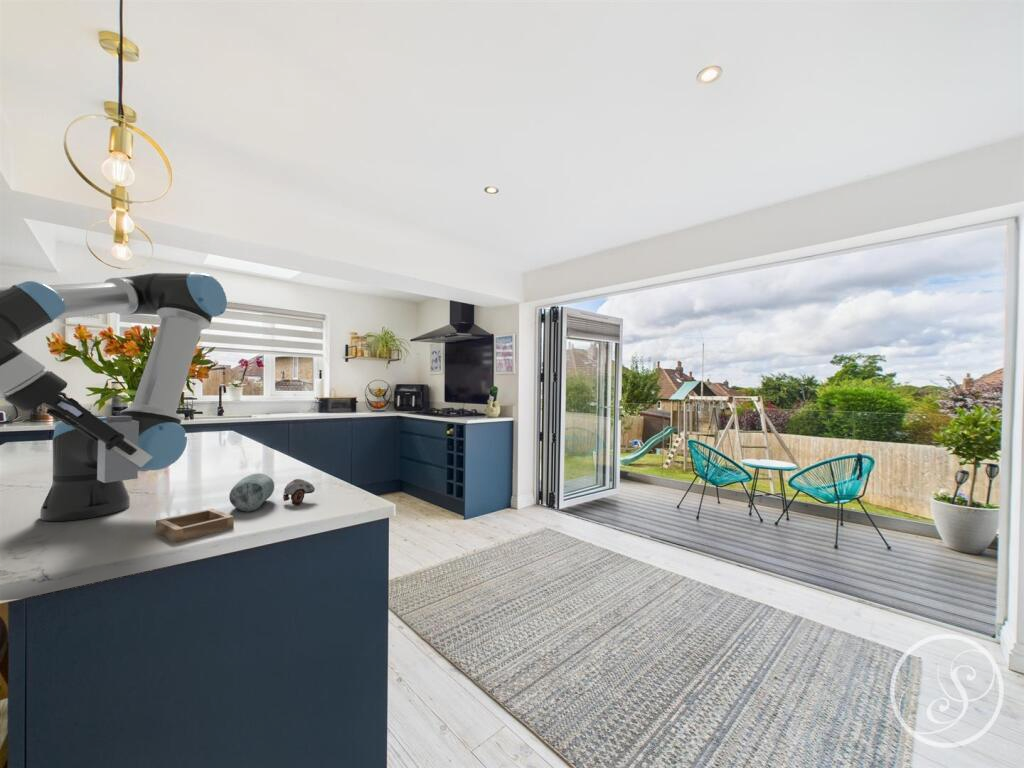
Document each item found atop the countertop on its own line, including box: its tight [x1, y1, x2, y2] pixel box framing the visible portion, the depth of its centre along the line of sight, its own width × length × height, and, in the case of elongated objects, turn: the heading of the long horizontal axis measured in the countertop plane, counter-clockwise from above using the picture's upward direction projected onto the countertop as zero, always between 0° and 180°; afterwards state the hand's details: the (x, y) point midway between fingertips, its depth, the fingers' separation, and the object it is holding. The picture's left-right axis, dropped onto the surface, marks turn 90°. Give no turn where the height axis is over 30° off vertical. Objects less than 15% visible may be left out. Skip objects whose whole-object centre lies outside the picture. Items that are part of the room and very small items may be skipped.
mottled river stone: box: [228, 472, 275, 512], centre depth 106 cm, size 14×10×10 cm
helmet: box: [282, 478, 316, 506], centre depth 109 cm, size 6×8×7 cm
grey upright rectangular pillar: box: [97, 415, 139, 483], centre depth 84 cm, size 5×5×13 cm
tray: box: [155, 508, 235, 543], centre depth 88 cm, size 10×10×2 cm
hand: (141, 460), depth 87 cm, fingers closed on grey upright rectangular pillar, 5 cm apart
